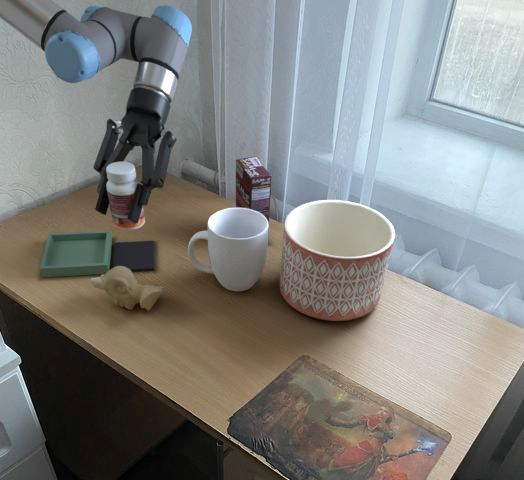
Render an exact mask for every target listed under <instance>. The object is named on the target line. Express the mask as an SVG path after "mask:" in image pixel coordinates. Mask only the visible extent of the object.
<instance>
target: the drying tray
mask: <svg viewBox="0 0 524 480" xmlns="http://www.w3.org/2000/svg"><path fill="white" fill-rule="evenodd" d="M112 245H113V236H112V231H111V230H94V231H91V230H89V231H72V232H71V231H70V232H69V231H68V232H50V233H49V232H48V233H47V237H46V240H45V245H44V249H43V254H42V258H41V261H40V265H39V272H40V275H41V277H42V278H58V277H59V278H60V277H74V276H93V275H105V274H106V273H107V272H108V271H109V270H111V269H110V268H111V257H112V247H113V246H112Z"/></svg>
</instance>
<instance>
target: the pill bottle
mask: <svg viewBox="0 0 524 480" xmlns="http://www.w3.org/2000/svg"><path fill="white" fill-rule="evenodd" d="M106 172H107V178H108V182H107V184H106V187H107V193H108V198H109V209H110V214H111V220H112V221H111V222H112V225H113V226H114V227H115V228H116V229H118V230H121V231H130V232H131V231H136V230H138V229H140V228H142V227H143V226H144V225H145V223H146V217H145V210H144V209H145V208H144V206H143V207H142V211H141V214H140V218H139V221H138V223H135V222H133V221H131V220H130V219H128V214H129V211H130V208H131V204H132V201H133V197H134V194H135V191H136V187H137V184H141V181H140V180H139V179H138V178H137V171H136V166H135V164H134V163H132V162H128V161H123V162H115V163H112V164H109V165H108V166H107V168H106Z"/></svg>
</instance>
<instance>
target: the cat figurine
mask: <svg viewBox="0 0 524 480" xmlns="http://www.w3.org/2000/svg"><path fill="white" fill-rule="evenodd" d="M90 283H91V285H92V286H93V287H94V288H96V289H99V290H101V291H105V293H106V295H107V296H109V297H110V298H111V299H112V300H113V303H114V305H115V306H116V307H118V306H120V307H121V308H125V309H128V310H129V311H131V310H134V308H135V306H136V305H137V304H139V306H140V308H141V309H145V310H146V311H150V310H151V309H152V307H153V306H154V305H155V303H156V302H157V300H158V299H159V297H160V296H161V295H162V293H163V292H164V290H165V285H162V286H159V285H151V284H140V283H139V282H138V281H137V279H136V277H135V274H134V273H133V272H132V271H131V270H130V269H128V268H126V267H124V266H116V267H114V268H113V267H112V268H111V269H110V270H109V271H108V272H107V273H106V274H100V276H97V277H91V278H90Z"/></svg>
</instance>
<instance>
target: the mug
mask: <svg viewBox="0 0 524 480" xmlns="http://www.w3.org/2000/svg"><path fill="white" fill-rule="evenodd" d="M198 240H205V241H207V248H208V249H207V250H208V256H209V262H210V265H206V264H203V263H201V262H199V261H198V260H197V258H196V256H195V253H194V245H195V243H196V241H198ZM268 244H269V233H268V221H267V219H266V217H265V216H264V215H262V214H261V213H259V212H257V211H255V210H251V209H247V208H236V207H227V208H223V209H220V210H218V211H216V212H214V213H213V214H211V215H210V216H209V218H208V219H207V230H201V231H200V230H199V231H198V232H195V233H194V234H193V236H192V237H191V238H190V240H189V242H188V245H187V256H188V259H189V261H190V263H191V265H192V266H193V267H194V268H195V269H197V270H199V271H200V272H203V273H207V274H212V275H213V274H214V276H215V278H216V280H217V282H218V283H219V284H220V285H221V286H222V287H223V288H224V289H226V290H228V291H231V292H232V291H233V292H243V291H247V290H250V289H251V288H253V286H254V285H255V284H256V283H257V282H258V281H259V279H260V277H261V276H262V274H263V271H264V270H265V269H264V268H265V265H266V261H267V254H268Z"/></svg>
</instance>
